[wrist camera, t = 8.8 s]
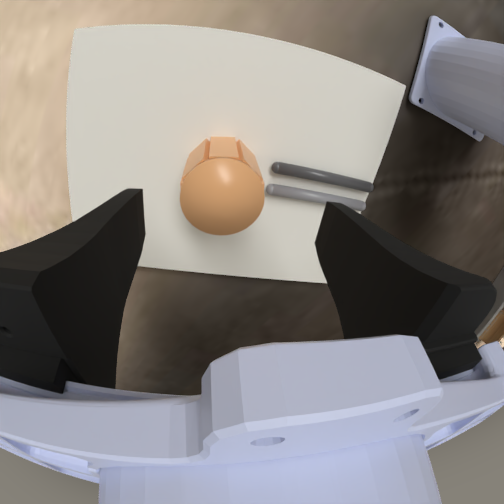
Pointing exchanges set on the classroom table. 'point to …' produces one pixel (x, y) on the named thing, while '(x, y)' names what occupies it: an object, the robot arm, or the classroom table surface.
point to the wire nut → (221, 187)
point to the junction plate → (223, 125)
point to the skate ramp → (494, 316)
